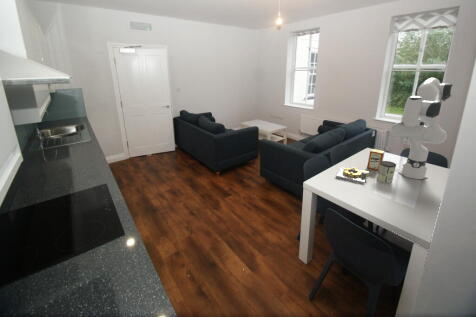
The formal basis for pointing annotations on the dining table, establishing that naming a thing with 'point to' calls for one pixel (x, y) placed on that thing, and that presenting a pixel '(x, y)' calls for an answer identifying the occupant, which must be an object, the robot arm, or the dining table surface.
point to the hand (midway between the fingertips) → (404, 142)
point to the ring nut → (357, 174)
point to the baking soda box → (375, 159)
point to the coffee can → (386, 171)
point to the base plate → (349, 178)
